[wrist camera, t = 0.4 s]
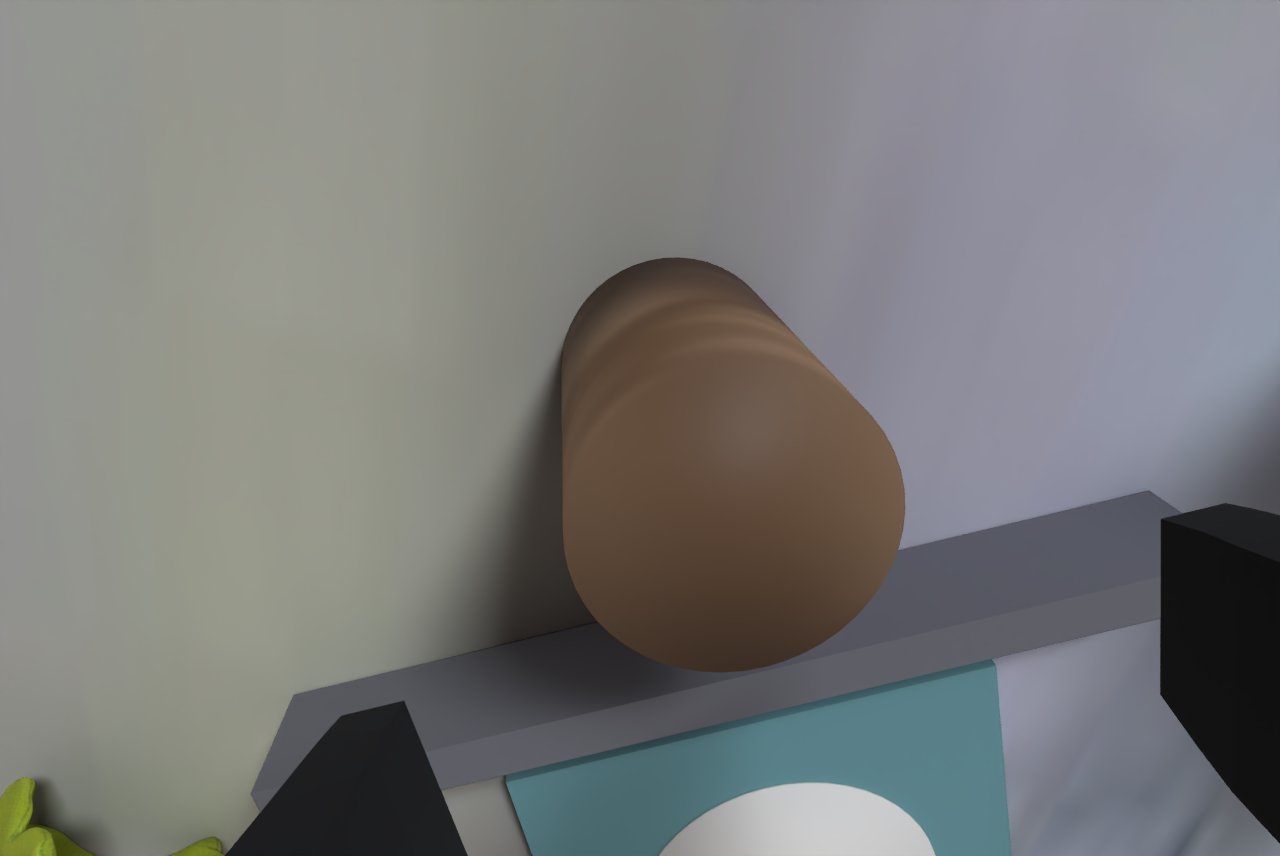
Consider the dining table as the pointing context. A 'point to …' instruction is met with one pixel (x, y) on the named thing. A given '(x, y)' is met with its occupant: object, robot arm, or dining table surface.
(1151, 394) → the dining table surface
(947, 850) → the mat
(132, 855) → the dining table surface
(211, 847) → the bird rattle
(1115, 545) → the low wall
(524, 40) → the dining table surface
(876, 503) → the walnut cylinder
